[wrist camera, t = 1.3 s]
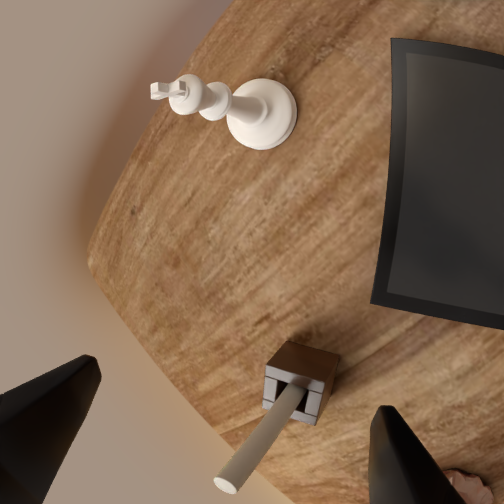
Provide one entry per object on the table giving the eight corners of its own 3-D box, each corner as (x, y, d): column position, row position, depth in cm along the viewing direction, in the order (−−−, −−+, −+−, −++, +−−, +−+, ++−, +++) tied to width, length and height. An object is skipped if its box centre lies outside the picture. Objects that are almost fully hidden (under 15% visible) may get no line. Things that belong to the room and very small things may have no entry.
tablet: (521, 326, 15) (526, 335, 14) (372, 296, 20) (369, 304, 19) (552, 77, 10) (559, 72, 9) (392, 44, 15) (390, 36, 14)
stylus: (316, 379, 23) (236, 497, 13) (299, 374, 24) (213, 486, 14) (318, 365, 23) (237, 485, 13) (301, 360, 23) (212, 473, 13)
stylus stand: (329, 397, 23) (315, 426, 20) (281, 382, 25) (261, 408, 22) (339, 354, 22) (325, 382, 19) (286, 340, 24) (265, 364, 21)
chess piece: (299, 146, 20) (204, 133, 11) (233, 152, 22) (119, 152, 13) (294, 74, 18) (199, 18, 10) (228, 86, 21) (118, 56, 12)
